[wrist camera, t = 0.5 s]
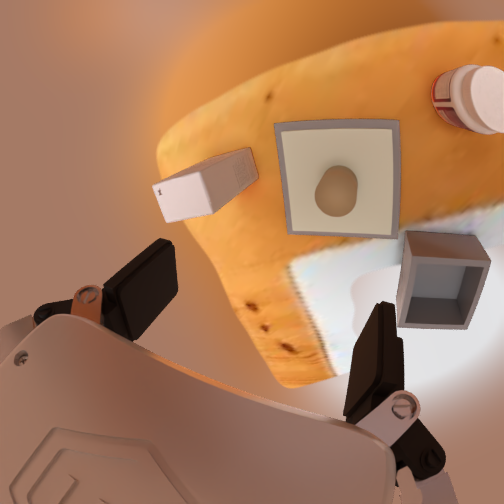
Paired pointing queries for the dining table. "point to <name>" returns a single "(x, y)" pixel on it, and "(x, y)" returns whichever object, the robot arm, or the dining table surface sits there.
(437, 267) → the open grey box
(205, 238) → the dining table surface
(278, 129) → the mat
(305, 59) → the dining table surface
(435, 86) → the pill bottle
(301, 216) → the lid
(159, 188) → the skincare box
